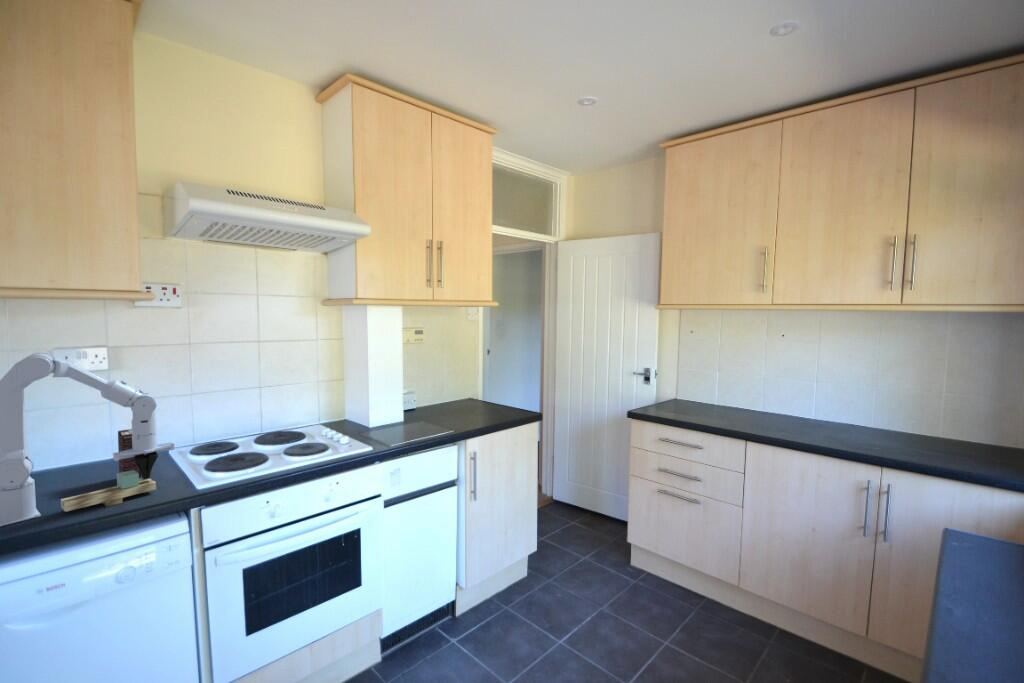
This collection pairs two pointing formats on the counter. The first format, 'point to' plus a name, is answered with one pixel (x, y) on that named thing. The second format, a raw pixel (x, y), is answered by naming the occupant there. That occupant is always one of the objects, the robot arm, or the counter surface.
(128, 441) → the supplement box
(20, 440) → the robot arm
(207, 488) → the counter surface
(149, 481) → the beam
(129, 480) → the block
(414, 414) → the counter surface
